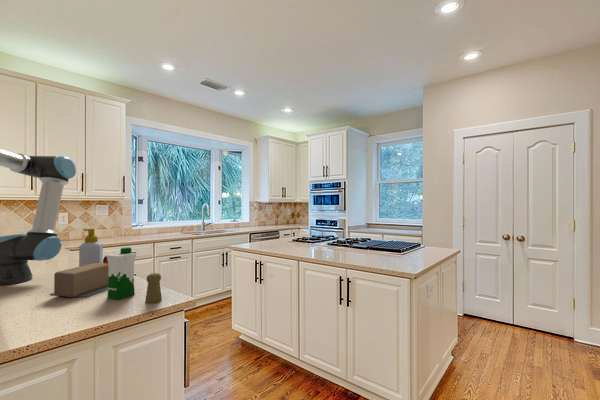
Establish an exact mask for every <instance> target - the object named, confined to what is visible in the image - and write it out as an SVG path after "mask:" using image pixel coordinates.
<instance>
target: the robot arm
mask: <svg viewBox="0 0 600 400" xmlns="http://www.w3.org/2000/svg"><path fill="white" fill-rule="evenodd" d="M0 167H3V168H7V169H9V170H10V171H12V172H14V173H18V174H21V175H24V176H28V177H31V178H38V179H39V180H40V182H41V188H40V193H39V196H38V200H37V206H36V210H35V215H34V219H33V223H32V228H31V229H30V230H28V231H27V232H26V233H18V234H10V235H3V236H2V235H1V236H0V286H8V285H13V284H14V285H15V284H20V283H25V282H27V281H31V280H32V279H33V273H32V271H31V269H30V266H29V264H28V261H39V262H41V261H49V260H52V259H53V258H55V257H56V256H58V254H60V251H61V249H62V241H61V238H59V237H58V236H59V233H57V232H56V231H55V229H56V225H57V219H58V214H59V212H60V211H59V210H60V205H61V201H62V195H63V191H64V186H66V185H67V184H69V179H73V178H74V177H75V175H76V173H77V168H76V164H75V163H74V161H73V160H72V159H71V158H70V157H68V156H64V155H63V156H62V155H52V156H51V155H27V154H23V153H14V152H11V151H8V150H5V149H1V148H0Z"/></svg>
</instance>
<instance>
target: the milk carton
mask: <svg viewBox="0 0 600 400" xmlns="http://www.w3.org/2000/svg"><path fill="white" fill-rule="evenodd" d="M106 255H107V260H108V266H109V269H108V290H107V299H113V300H116V301H117V300H118V301H122V300H124V299H127V298H129V297H133V296H135V295H136V294H135V260H136V256H137V252H132V247H121V248H120V252H114V253H110V254H106Z"/></svg>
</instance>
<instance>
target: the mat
mask: <svg viewBox="0 0 600 400" xmlns="http://www.w3.org/2000/svg"><path fill="white" fill-rule="evenodd" d="M104 291H108V286H105V287H102V288H99V289H96V290H93V291H90V292H87V293H84V294H81V295H78V296H75V297H77V298H89V297H92V296H94V295H96V294H100V293H103V292H104ZM49 295H50V296H55V294H54V292H51V293H49Z"/></svg>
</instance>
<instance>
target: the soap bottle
mask: <svg viewBox="0 0 600 400" xmlns="http://www.w3.org/2000/svg"><path fill="white" fill-rule="evenodd" d="M82 231H83V232H85V231H86V232H88V234H87V235H86V237H85V238H84V242H83V243H81V244H80V245H79V251H78V256H79V257H78V263H79V264H78V267H80V266H84V265H89V264H93V263H103V259H104V257H103V255H104V252H103V251H104V250H103V246H104V245H103V242H101V241H99V238H98V236H97V235H96V234H95V228H83V229H82Z"/></svg>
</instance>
